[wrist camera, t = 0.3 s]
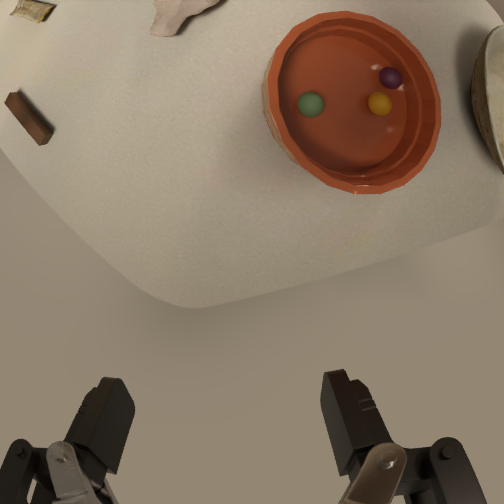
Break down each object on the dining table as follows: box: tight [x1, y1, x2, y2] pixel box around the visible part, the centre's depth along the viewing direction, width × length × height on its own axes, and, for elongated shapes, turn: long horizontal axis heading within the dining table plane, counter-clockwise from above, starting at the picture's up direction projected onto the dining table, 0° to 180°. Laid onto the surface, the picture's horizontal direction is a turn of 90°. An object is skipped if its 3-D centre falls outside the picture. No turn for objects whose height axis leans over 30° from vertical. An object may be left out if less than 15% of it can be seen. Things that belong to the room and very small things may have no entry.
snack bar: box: [10, 0, 54, 23], centre depth 12 cm, size 10×2×3 cm
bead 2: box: [379, 67, 402, 89], centre depth 21 cm, size 3×3×3 cm
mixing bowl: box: [262, 11, 441, 194], centre depth 21 cm, size 18×18×6 cm
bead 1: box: [297, 92, 324, 118], centre depth 22 cm, size 3×3×3 cm
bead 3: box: [368, 92, 392, 116], centre depth 22 cm, size 3×3×3 cm
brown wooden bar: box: [5, 92, 53, 146], centre depth 20 cm, size 10×2×2 cm, turn 42°
